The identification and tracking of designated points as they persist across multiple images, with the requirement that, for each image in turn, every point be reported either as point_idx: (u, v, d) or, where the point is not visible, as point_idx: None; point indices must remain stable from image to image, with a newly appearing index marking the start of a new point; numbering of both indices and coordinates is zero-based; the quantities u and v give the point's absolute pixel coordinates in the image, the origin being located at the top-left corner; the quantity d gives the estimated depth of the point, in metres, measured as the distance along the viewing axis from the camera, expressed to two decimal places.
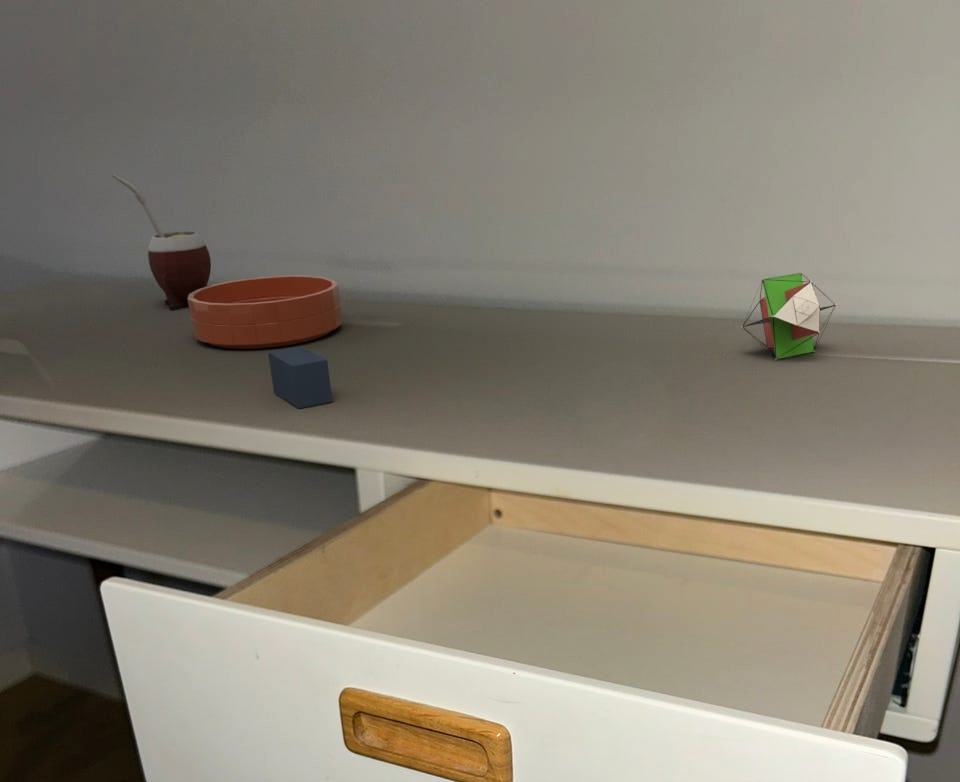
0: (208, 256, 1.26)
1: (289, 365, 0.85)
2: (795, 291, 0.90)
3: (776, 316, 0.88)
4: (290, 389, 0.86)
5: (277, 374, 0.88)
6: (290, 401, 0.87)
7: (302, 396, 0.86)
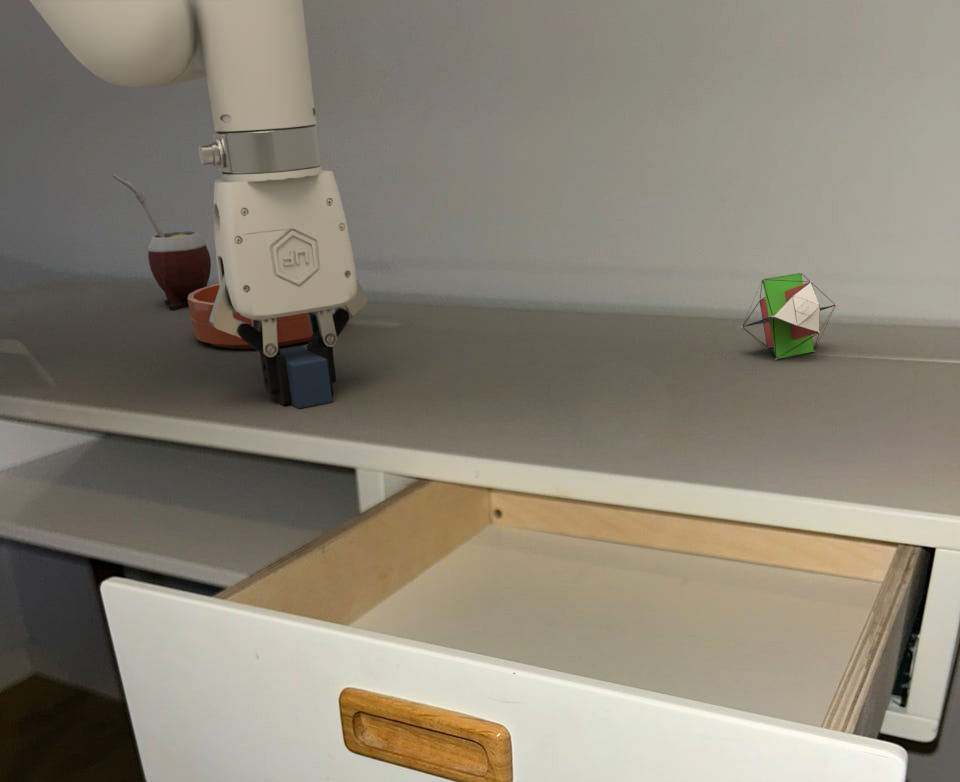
0: (208, 256, 1.26)
1: (289, 365, 0.85)
2: (795, 291, 0.90)
3: (776, 316, 0.88)
4: (290, 389, 0.86)
5: None
6: None
7: (302, 396, 0.86)
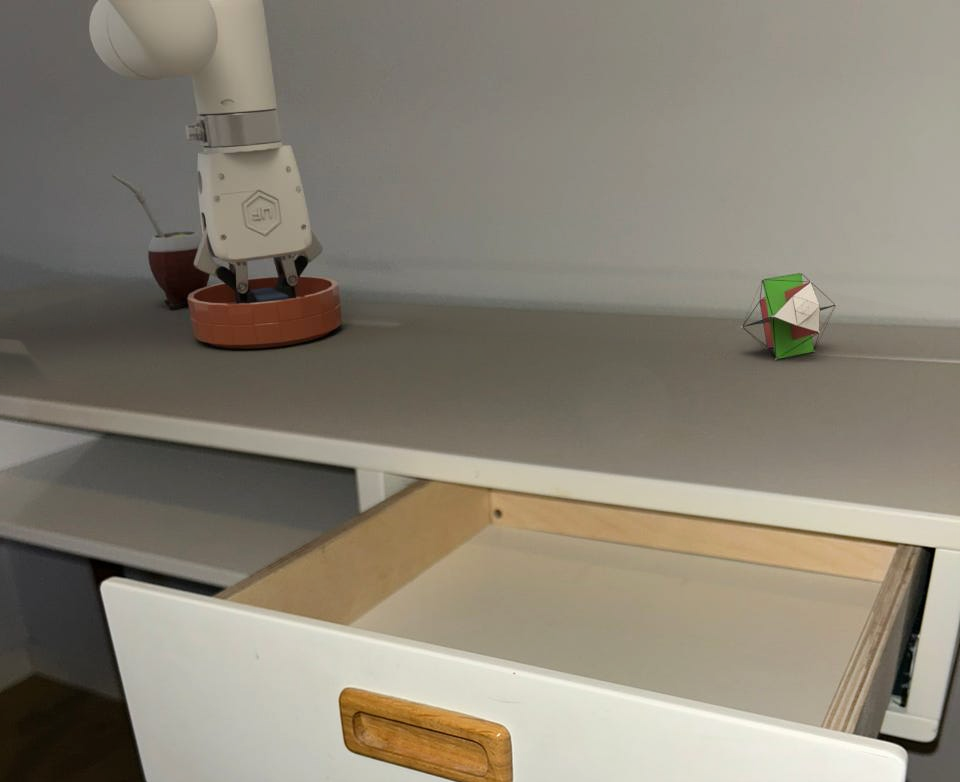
0: None
1: (258, 300, 1.07)
2: (795, 291, 0.90)
3: (776, 316, 0.88)
4: None
5: None
6: None
7: None
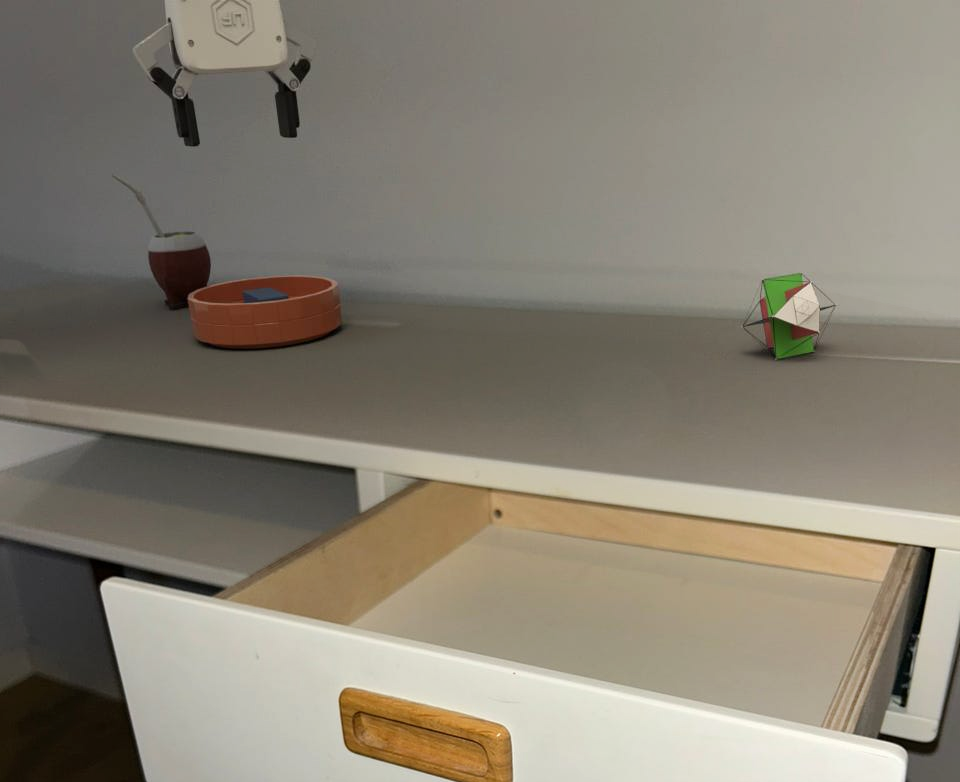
0: (208, 256, 1.26)
1: (258, 300, 1.07)
2: (795, 291, 0.90)
3: (776, 316, 0.88)
4: None
5: None
6: None
7: None
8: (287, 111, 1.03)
